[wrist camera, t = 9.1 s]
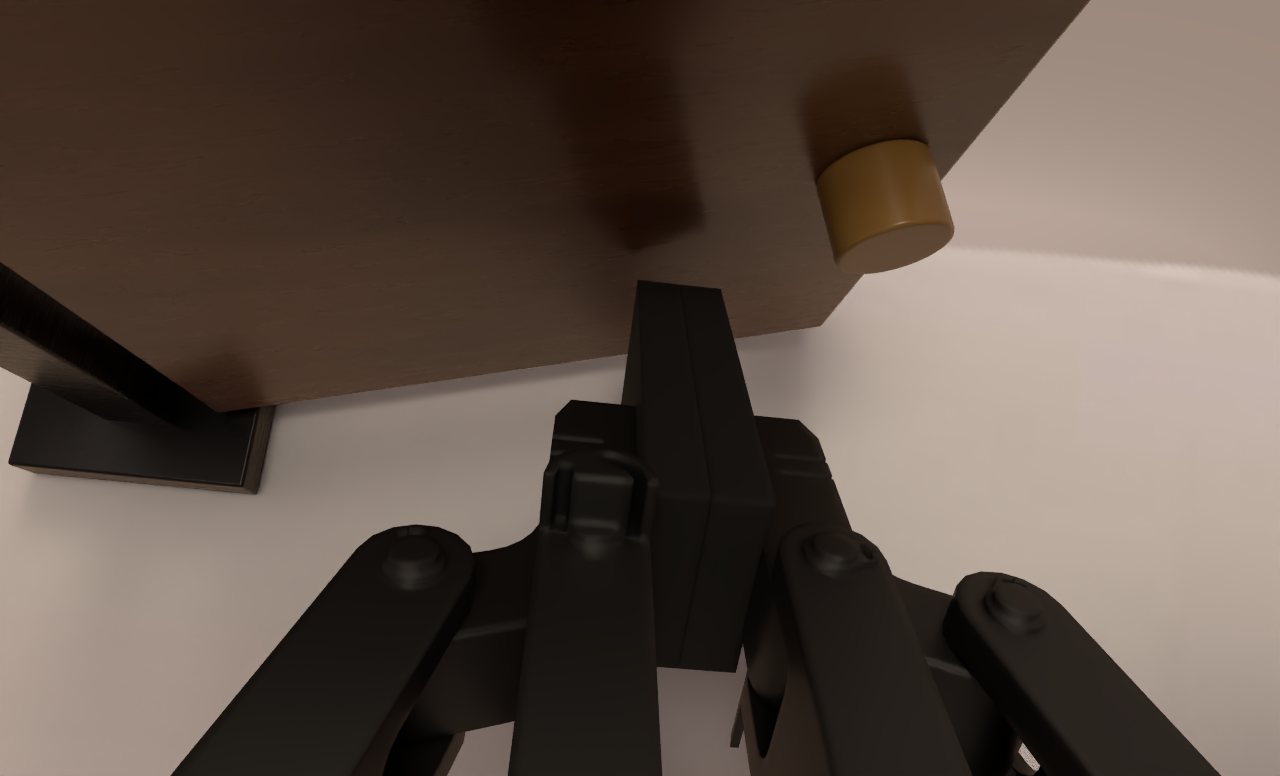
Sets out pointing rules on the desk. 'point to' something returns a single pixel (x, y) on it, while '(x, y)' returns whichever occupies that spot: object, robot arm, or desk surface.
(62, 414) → the black post stand
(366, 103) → the door
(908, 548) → the desk surface
